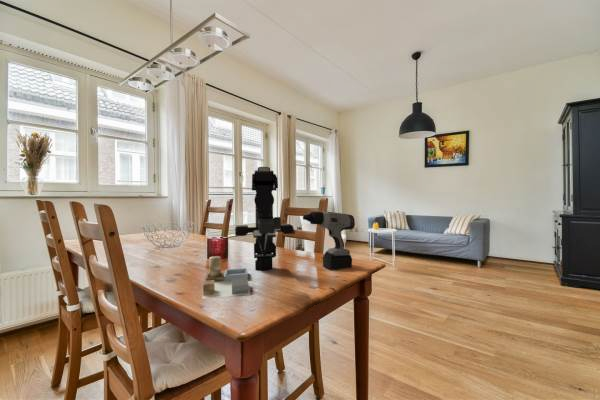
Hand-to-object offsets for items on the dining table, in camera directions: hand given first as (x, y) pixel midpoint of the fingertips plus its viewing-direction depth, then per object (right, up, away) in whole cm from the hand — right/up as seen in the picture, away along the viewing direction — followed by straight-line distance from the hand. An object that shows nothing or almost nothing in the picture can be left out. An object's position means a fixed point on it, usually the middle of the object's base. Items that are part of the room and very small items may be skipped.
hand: (264, 255), depth 87 cm
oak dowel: (-19, -11, +9) cm, 24 cm away
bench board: (-13, -12, +4) cm, 18 cm away
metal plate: (-8, -11, -2) cm, 13 cm away
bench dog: (-17, -11, -4) cm, 20 cm away
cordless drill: (+24, -12, +28) cm, 39 cm away
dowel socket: (-19, -11, +9) cm, 24 cm away
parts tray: (-12, -11, +11) cm, 20 cm away
